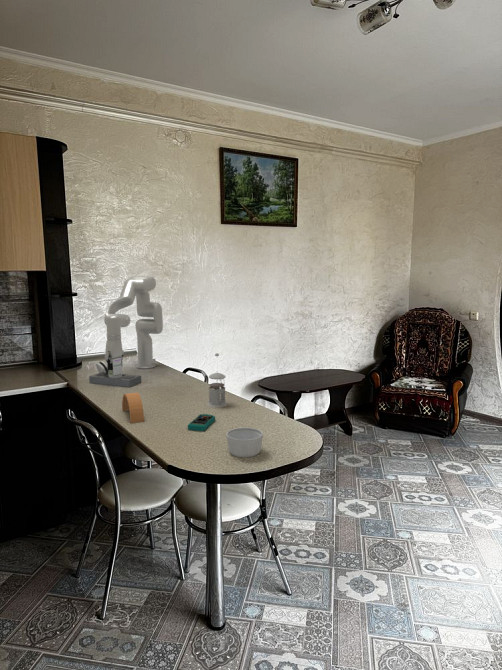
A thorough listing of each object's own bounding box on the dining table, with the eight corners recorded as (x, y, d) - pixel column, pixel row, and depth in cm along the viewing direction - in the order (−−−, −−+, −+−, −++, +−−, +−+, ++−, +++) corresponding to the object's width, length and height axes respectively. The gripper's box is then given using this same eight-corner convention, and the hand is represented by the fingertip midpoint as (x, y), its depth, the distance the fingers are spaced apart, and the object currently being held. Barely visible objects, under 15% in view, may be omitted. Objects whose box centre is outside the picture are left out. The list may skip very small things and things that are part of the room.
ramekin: (220, 455, 165) (220, 436, 164) (234, 442, 177) (234, 425, 176) (255, 461, 160) (255, 442, 159) (267, 447, 172) (268, 429, 171)
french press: (203, 405, 223) (203, 354, 219) (213, 399, 233) (213, 350, 230) (222, 408, 219) (222, 355, 216) (231, 401, 230) (232, 351, 226)
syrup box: (122, 382, 265) (121, 357, 263) (113, 384, 261) (112, 359, 258) (117, 380, 269) (116, 356, 266) (108, 382, 264) (107, 357, 262)
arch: (130, 423, 198) (129, 400, 196) (122, 410, 216) (121, 389, 214) (144, 421, 200) (143, 399, 199) (134, 408, 218) (134, 387, 217)
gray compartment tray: (102, 378, 275) (102, 371, 274) (141, 382, 266) (141, 375, 266) (89, 383, 263) (89, 376, 263) (129, 387, 255) (129, 380, 254)
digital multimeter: (215, 421, 203) (215, 414, 202) (204, 432, 188) (204, 425, 188) (199, 419, 204) (199, 413, 204) (187, 430, 190) (187, 424, 190)
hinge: (115, 378, 276) (109, 363, 273) (108, 381, 274) (101, 366, 271) (107, 372, 290) (101, 358, 287) (100, 376, 288) (93, 361, 284)
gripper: (117, 335, 270) (118, 364, 273) (98, 339, 254) (99, 371, 257) (128, 335, 268) (129, 365, 271) (110, 340, 252) (111, 372, 254)
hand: (115, 368), depth 264 cm, fingers open, 8 cm apart
